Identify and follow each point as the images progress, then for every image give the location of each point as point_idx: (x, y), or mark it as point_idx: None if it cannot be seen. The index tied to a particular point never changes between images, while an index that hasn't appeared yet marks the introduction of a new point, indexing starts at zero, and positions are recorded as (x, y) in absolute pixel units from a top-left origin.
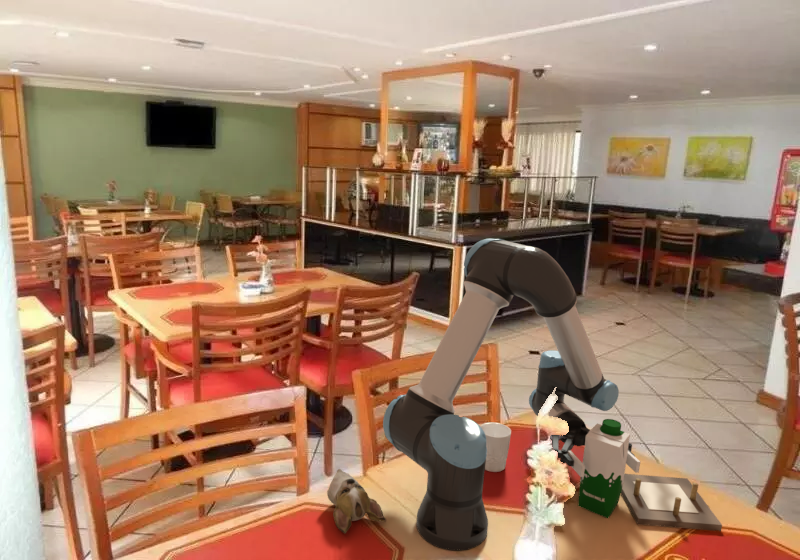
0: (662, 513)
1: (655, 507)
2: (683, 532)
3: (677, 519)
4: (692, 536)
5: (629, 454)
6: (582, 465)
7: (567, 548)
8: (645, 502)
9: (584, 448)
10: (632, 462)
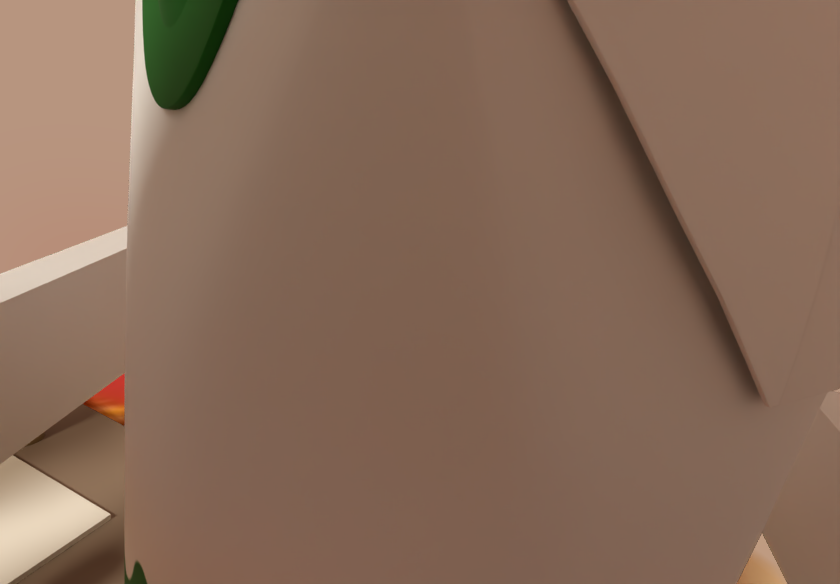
0: (81, 467)
1: (48, 505)
2: (114, 419)
3: (75, 417)
4: (112, 395)
5: (44, 281)
6: (833, 395)
7: (774, 579)
8: (31, 564)
9: (797, 453)
10: (110, 311)
